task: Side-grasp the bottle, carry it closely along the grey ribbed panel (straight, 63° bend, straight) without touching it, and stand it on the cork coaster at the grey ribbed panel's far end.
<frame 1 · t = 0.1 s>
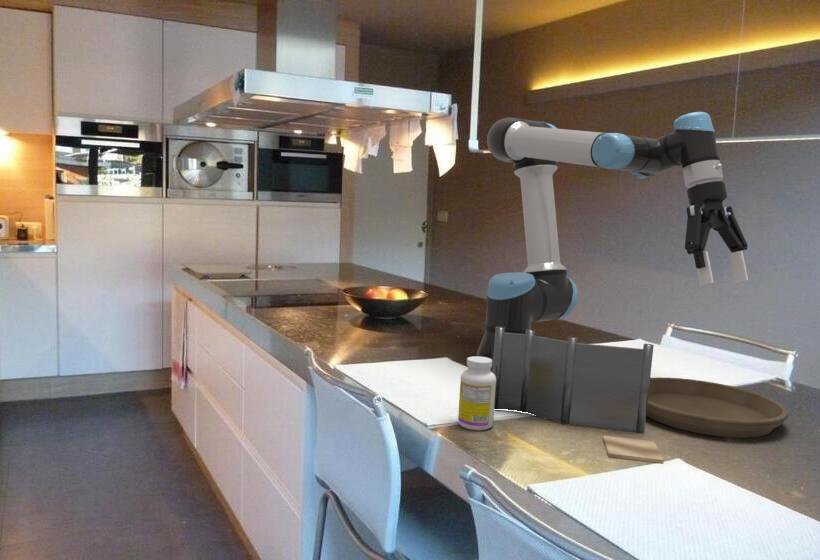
hand: (724, 282, 142), 28 cm above the worktop, tool tilted 20°, fingers open, 13 cm apart
plant saucer: (701, 417, 143), on the worktop
grey ribbed panel: (498, 409, 139), on the worktop
coaster: (631, 450, 120), on the worktop
supplement bottle: (475, 426, 129), on the worktop
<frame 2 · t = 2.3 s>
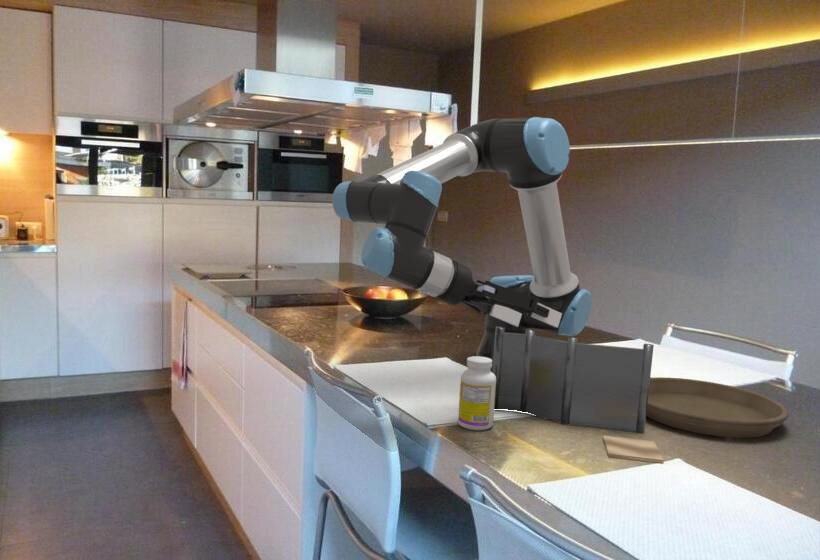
hand: (538, 320, 130), 20 cm above the worktop, tool tilted 70°, fingers open, 12 cm apart
nothing on the worktop moved.
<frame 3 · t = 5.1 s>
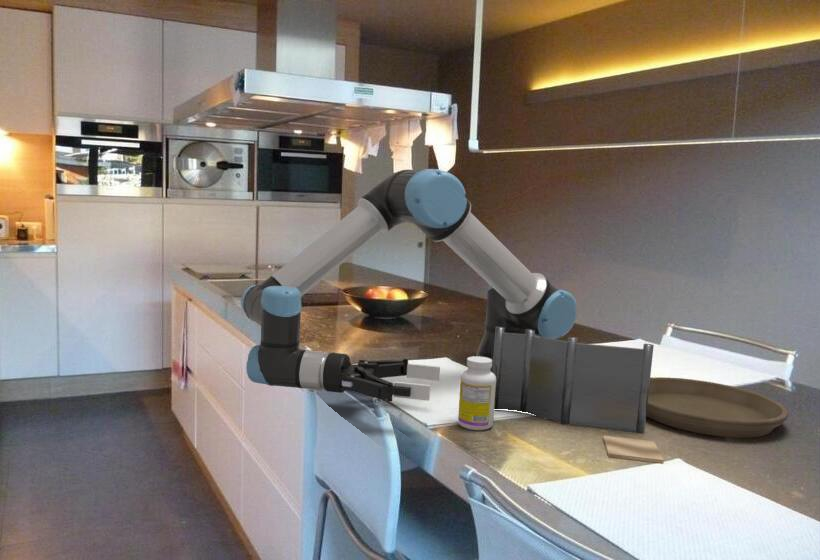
hand: (435, 382, 129), 7 cm above the worktop, tool horizontal, fingers open, 13 cm apart
nothing on the worktop moved.
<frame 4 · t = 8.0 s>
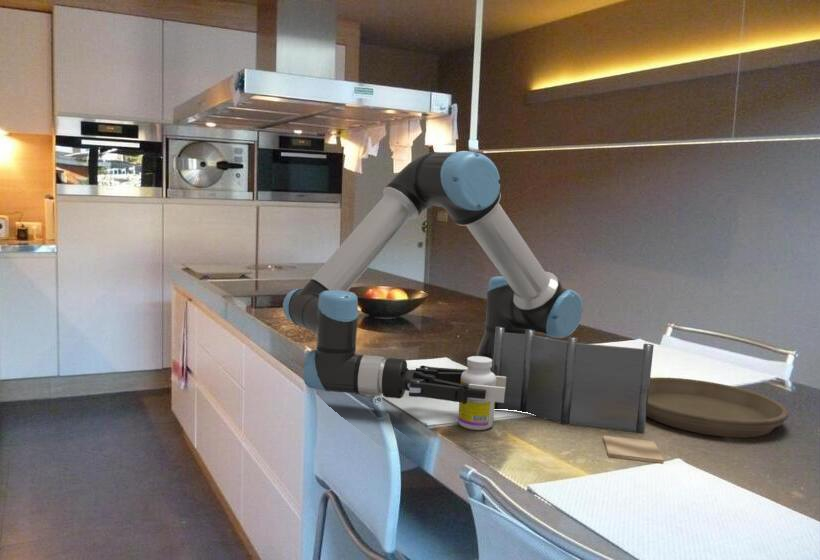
hand: (504, 389, 127), 8 cm above the worktop, tool horizontal, fingers closed on supplement bottle, 7 cm apart
supplement bottle: (475, 426, 129), on the worktop, touching gripper
everything else where it was.
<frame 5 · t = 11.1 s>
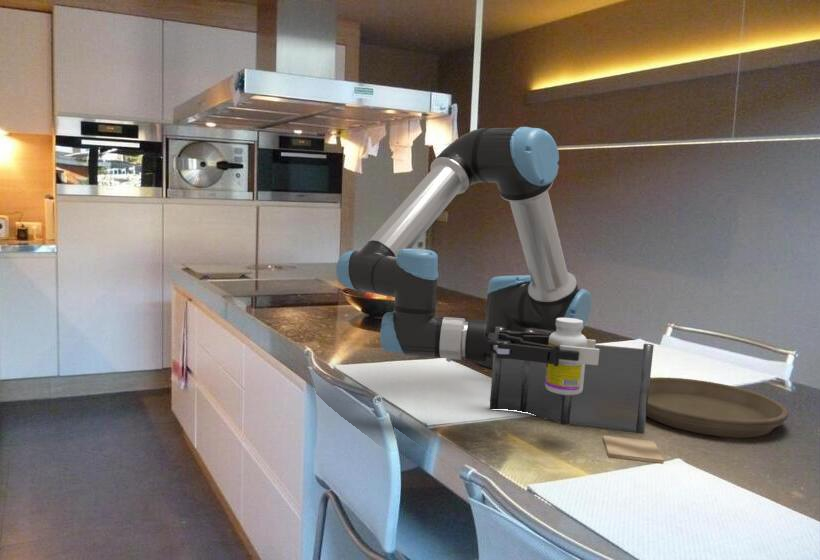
hand: (596, 352, 120), 17 cm above the worktop, tool horizontal, fingers closed on supplement bottle, 7 cm apart
supplement bottle: (563, 391, 121), point 9 cm above the worktop, touching gripper
everything else where it was.
when the fingers open (9 cm above the worktop, at t = 14.6 s): supplement bottle stays where it is, resting on coaster.
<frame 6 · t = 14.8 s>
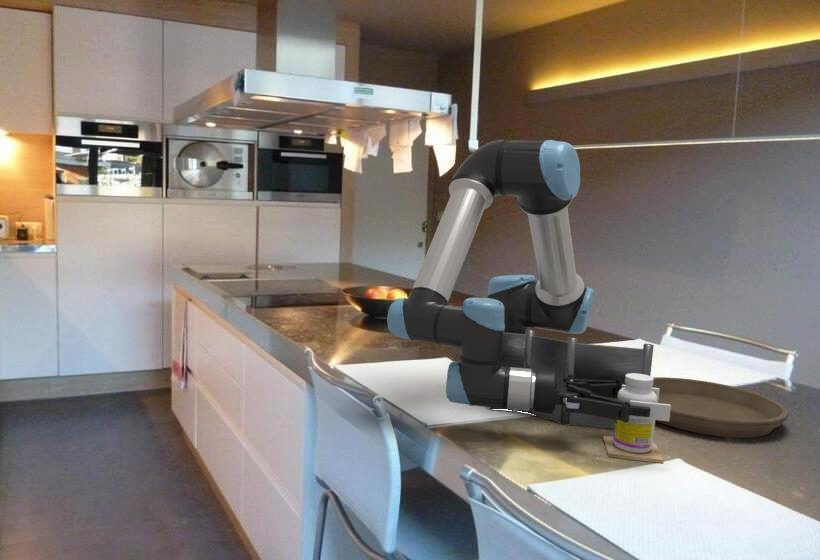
hand: (663, 404, 118), 9 cm above the worktop, tool horizontal, fingers open, 9 cm apart
supplement bottle: (631, 448, 120), resting on coaster
everything else where it was.
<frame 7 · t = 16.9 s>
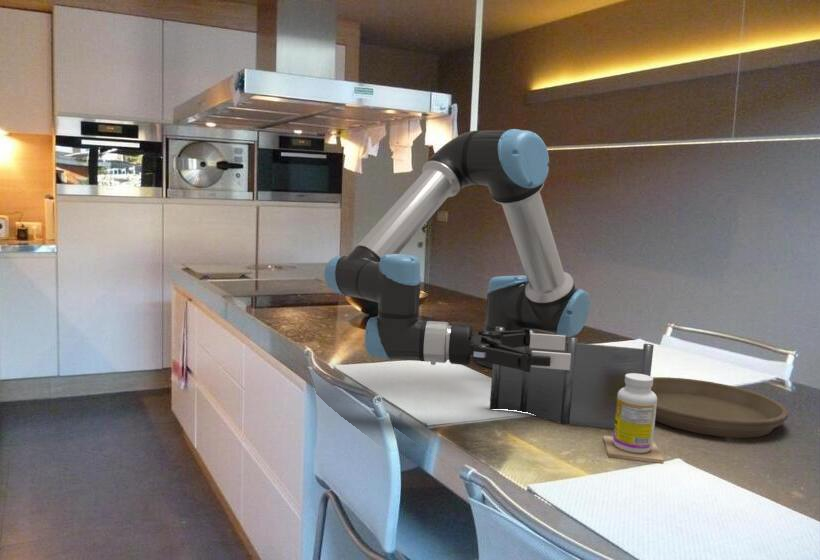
hand: (567, 351, 122), 16 cm above the worktop, tool horizontal, fingers open, 13 cm apart
nothing on the worktop moved.
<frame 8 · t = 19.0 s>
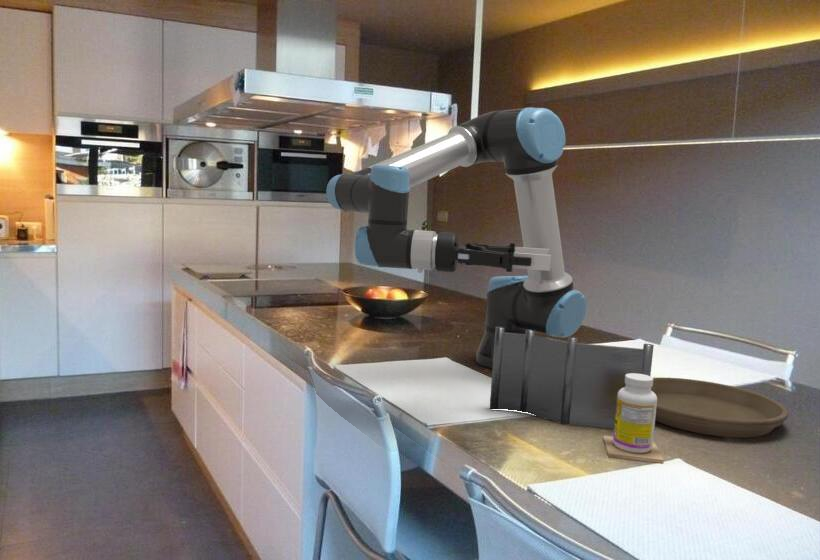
hand: (549, 259, 127), 32 cm above the worktop, tool horizontal, fingers open, 13 cm apart
nothing on the worktop moved.
at the end: supplement bottle inside the target area on the coaster (0.0 cm from its centre), point 0.4 cm above the coaster's base; supplement bottle tilted 0°; supplement bottle touching coaster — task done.
